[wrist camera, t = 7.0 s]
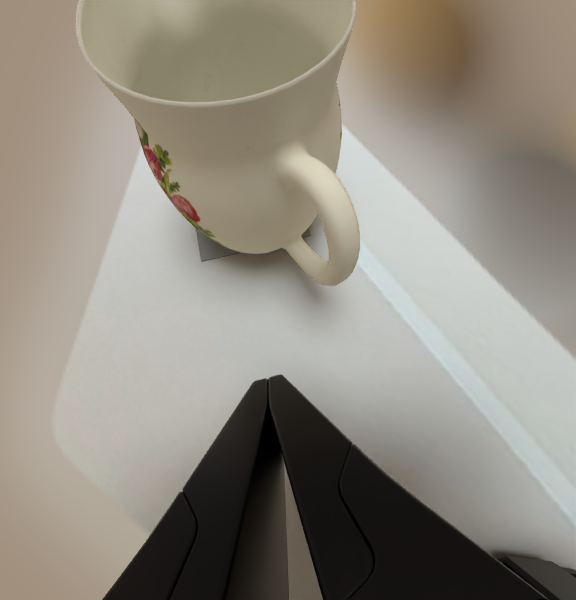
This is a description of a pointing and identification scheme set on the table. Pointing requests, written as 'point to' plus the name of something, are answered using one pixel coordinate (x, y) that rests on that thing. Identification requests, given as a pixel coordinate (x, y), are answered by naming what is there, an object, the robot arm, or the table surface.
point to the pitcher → (236, 114)
